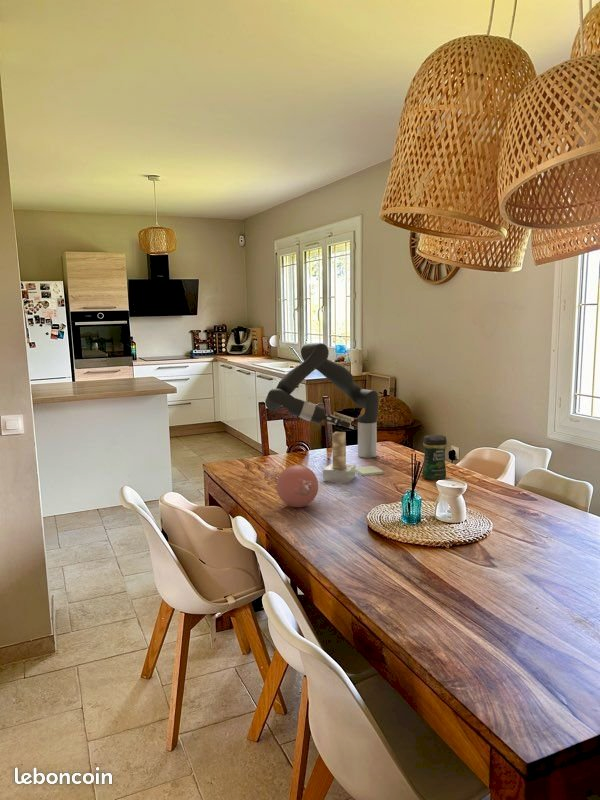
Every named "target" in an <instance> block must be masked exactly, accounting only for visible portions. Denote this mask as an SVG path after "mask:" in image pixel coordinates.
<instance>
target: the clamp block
mask: <svg viewBox="0 0 600 800" xmlns="http://www.w3.org/2000/svg"><path fill="white" fill-rule="evenodd" d="M355 468H356V465H355V464H347V463H346V468H345V469H333V462H331V463H330V464H328V465H326V467H324V468H323V469H322V481H323V480H324V481H323V482H330V481H333V482H332V483H340V482H342V484H349V483H350V482H351V481H352V480H353V479H355V477H356V471H355Z"/></svg>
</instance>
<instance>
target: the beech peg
mask: <svg viewBox="0 0 600 800" xmlns="http://www.w3.org/2000/svg"><path fill="white" fill-rule="evenodd" d="M346 434H347V433H346V431H335V432H333V433H332V435H331V439H332V443H331V444H332V446H331V447H332V448H331V449H332V463H333V469H345V468H346V464H347V448H346V447H347V440H346V436H347V435H346Z"/></svg>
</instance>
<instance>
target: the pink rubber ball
mask: <svg viewBox="0 0 600 800" xmlns="http://www.w3.org/2000/svg"><path fill="white" fill-rule="evenodd" d="M276 491H277V495H278V497H279V499H280V500H281V501H282V502H283V503H284V504H286V505H287V506H290V507H292V508H302V507H306V506H308V505H309V504H311V503H312V502H313V501H314V500H315V499H316V497H317V494H318V492H319V481H318V477H317V476H316V474H315V472H314V471H313V470H312V469H311V468H309V467H307V466H305V465H301V464H295V465H294V464H293V465H290V466H288V467H286V468H285V469H283V470H282V471H281V472H280V473H279V475H278V478H277V481H276Z"/></svg>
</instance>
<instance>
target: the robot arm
mask: <svg viewBox="0 0 600 800" xmlns="http://www.w3.org/2000/svg"><path fill="white" fill-rule="evenodd" d="M329 352H330V351H329V348H328V346H327V345H326V344H325V343H323V342H314V343H313V342H312V343H311V342H310V343H306V344H304V345H302V347H301V349H300V356H301V359H302V360H303V362H301V364H299V365H297V366H295V367H294V368H292V369H291V370H289V371H288V372H287V373H286V374H285V375H284V376H283V377H282V378H281V380H280V381H279V382H278V384H277V386H276V387H275V388H272V389H270V390H269V391H268V394H267V396H266V398H265V399H264V403H265V407H266V409H268V411H272V412H274V411H275V412H276V411H277V410H280V408H281V407H283V408H285V409H286V413H288V414H290V415H292V416H295V417H299V418H300V419H302V420H305V421H308V422H310V423H314V424H317V425H320V424H321V423H322V421H324V423H325V424H330V425H334V426H336V425H337V426H342V427H344V428H347V429H349V428H350V426H351V423H350V422H348V421H345V420H343V419H341V418H339V417H338V416H336V415H333V414H331V413H327V414H326V413H325V412H326V407H324V406H322V405H318V404H315V403H313V402H310V401H306V400H303V399H299V398H297V397H294V396H293V395H291V394H292V393H294V391H295V390H296V388H297V387H298V386H299V385H300V384H301V383H302V382H303V381H304V380H305V379H306V378H307V377H308V376H309V375H311V374H312V373H313V372H314V371H315V370H316V371H318V372H319V373H320V374H321V375H323V376H324V377H325V378H326V379H327V380H329V381H330V382H331V384H333V385H335V387H336V388H338V389H339V390H340V391H342V392H343V393H344V394H345V395H346V396H347V397H348V398H349V399H351V401H352V402H353V403H354V404H355V405H356V406H357V407H359V408H363V409H364V413H363V414H360V415H358V416H357V456H358V457H360V458H365V459H367V458H368V459H369V458H376V457H377V456H378V455H377V442H378V441H377V440H378V439H377V438H378V437H377V436H378V435H377V431H378V430H377V426H378V425H377V419H378V416H379V404H380V401H379V400H380V399H379V394H378V392H377V391H376V390H373V389H366V388H365V389H364V388H362V387H360V386H358V385H357V384H356V383H355V378H354V376H353V374H352V373H351V371H349V370H348V369H347V368H346V367H345V366H344V365H342V364H340V363H337V362H335V361H333V360H331V359H329V354H330V353H329Z"/></svg>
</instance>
